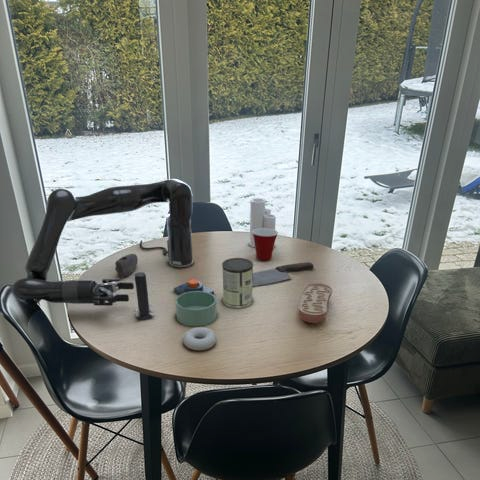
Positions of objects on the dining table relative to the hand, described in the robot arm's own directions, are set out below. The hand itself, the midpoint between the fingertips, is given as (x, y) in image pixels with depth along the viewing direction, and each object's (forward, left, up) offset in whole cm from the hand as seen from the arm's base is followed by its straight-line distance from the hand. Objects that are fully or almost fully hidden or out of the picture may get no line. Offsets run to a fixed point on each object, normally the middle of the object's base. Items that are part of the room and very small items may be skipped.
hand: (131, 291), depth 150 cm
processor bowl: (+14, +14, -9) cm, 22 cm away
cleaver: (+13, +58, -9) cm, 61 cm away
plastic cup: (-2, +66, -9) cm, 67 cm away
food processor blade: (+2, +2, -9) cm, 10 cm away
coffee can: (+16, +31, -9) cm, 37 cm away
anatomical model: (+40, +44, -9) cm, 60 cm away
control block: (+1, +24, -9) cm, 26 cm away
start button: (+1, +24, -6) cm, 25 cm away
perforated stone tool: (-31, +18, -9) cm, 37 cm away
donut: (+27, +4, -9) cm, 29 cm away
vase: (-14, +77, -9) cm, 79 cm away
